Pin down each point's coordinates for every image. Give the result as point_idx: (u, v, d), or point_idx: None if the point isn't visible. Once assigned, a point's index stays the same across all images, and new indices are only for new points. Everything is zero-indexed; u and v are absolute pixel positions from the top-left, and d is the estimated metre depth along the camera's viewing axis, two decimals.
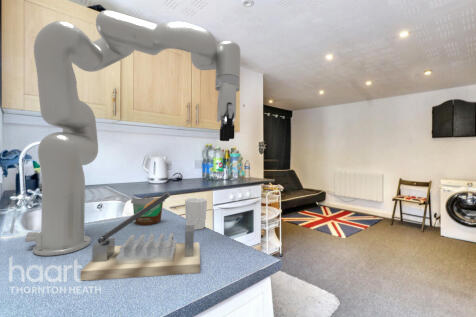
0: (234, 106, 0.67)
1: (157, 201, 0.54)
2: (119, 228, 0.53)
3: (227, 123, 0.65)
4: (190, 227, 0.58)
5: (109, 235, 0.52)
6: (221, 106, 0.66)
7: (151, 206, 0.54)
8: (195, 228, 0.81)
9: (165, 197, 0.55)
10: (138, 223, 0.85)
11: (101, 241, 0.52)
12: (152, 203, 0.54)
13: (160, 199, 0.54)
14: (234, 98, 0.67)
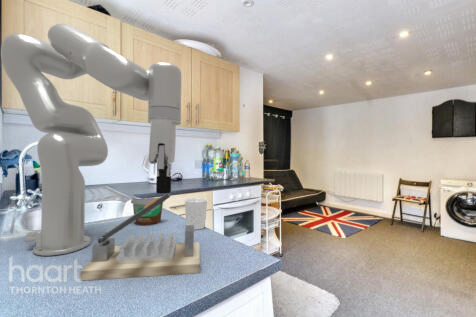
0: (168, 148, 0.51)
1: (157, 201, 0.54)
2: (119, 228, 0.53)
3: None
4: (190, 227, 0.58)
5: (109, 235, 0.52)
6: (150, 148, 0.51)
7: (151, 206, 0.54)
8: (195, 228, 0.81)
9: (165, 197, 0.55)
10: (138, 223, 0.85)
11: (101, 241, 0.52)
12: (152, 203, 0.54)
13: (160, 199, 0.54)
14: (168, 137, 0.51)
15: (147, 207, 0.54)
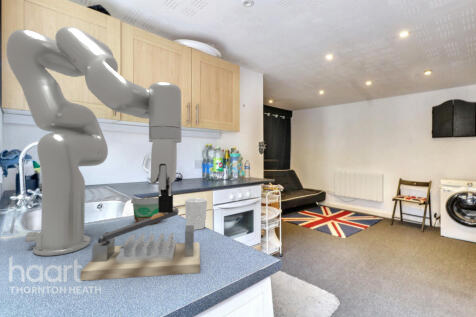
0: (169, 168, 0.51)
1: (165, 216, 0.55)
2: (121, 233, 0.53)
3: None
4: (190, 227, 0.58)
5: (110, 237, 0.52)
6: (152, 169, 0.51)
7: (158, 219, 0.54)
8: (195, 228, 0.81)
9: (174, 214, 0.55)
10: None
11: (101, 241, 0.52)
12: (160, 216, 0.54)
13: (168, 214, 0.55)
14: (169, 157, 0.51)
15: (154, 219, 0.54)
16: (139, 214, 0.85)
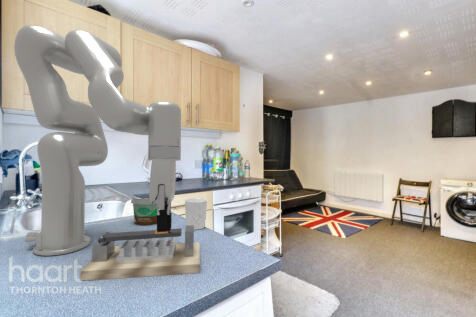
0: (168, 188, 0.51)
1: (168, 234, 0.55)
2: (122, 238, 0.53)
3: None
4: (190, 227, 0.58)
5: (110, 240, 0.52)
6: (150, 189, 0.51)
7: (161, 235, 0.54)
8: (195, 228, 0.81)
9: (177, 235, 0.55)
10: (138, 223, 0.85)
11: (100, 241, 0.52)
12: (163, 233, 0.55)
13: (172, 234, 0.55)
14: (168, 178, 0.51)
15: (157, 234, 0.54)
16: (139, 214, 0.85)
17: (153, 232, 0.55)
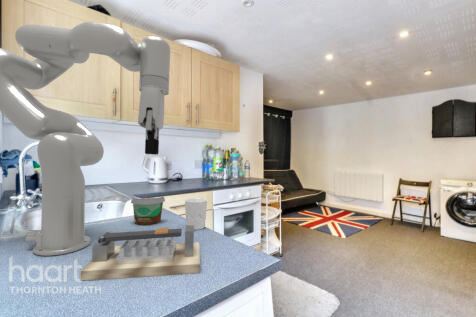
0: (155, 112, 0.58)
1: (168, 234, 0.55)
2: (122, 238, 0.53)
3: None
4: (190, 227, 0.58)
5: (110, 240, 0.52)
6: (139, 111, 0.57)
7: (161, 235, 0.54)
8: (195, 228, 0.81)
9: (177, 235, 0.55)
10: (138, 223, 0.85)
11: (100, 241, 0.52)
12: (163, 233, 0.55)
13: (172, 234, 0.55)
14: (156, 102, 0.58)
15: (157, 234, 0.54)
16: (139, 214, 0.85)
17: (153, 232, 0.55)
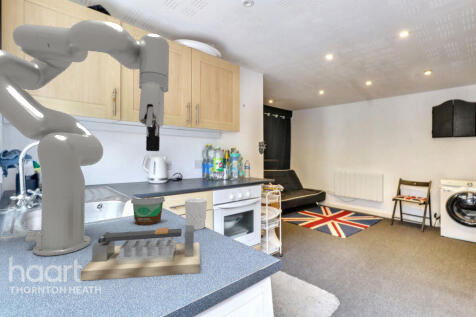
0: (156, 108, 0.58)
1: (168, 234, 0.55)
2: (122, 238, 0.53)
3: None
4: (190, 227, 0.58)
5: (110, 240, 0.52)
6: (140, 108, 0.58)
7: (161, 235, 0.54)
8: (195, 228, 0.81)
9: (177, 235, 0.55)
10: (138, 223, 0.85)
11: (100, 241, 0.52)
12: (163, 233, 0.55)
13: (172, 234, 0.55)
14: (156, 99, 0.58)
15: (157, 234, 0.54)
16: (139, 214, 0.85)
17: (153, 232, 0.55)
